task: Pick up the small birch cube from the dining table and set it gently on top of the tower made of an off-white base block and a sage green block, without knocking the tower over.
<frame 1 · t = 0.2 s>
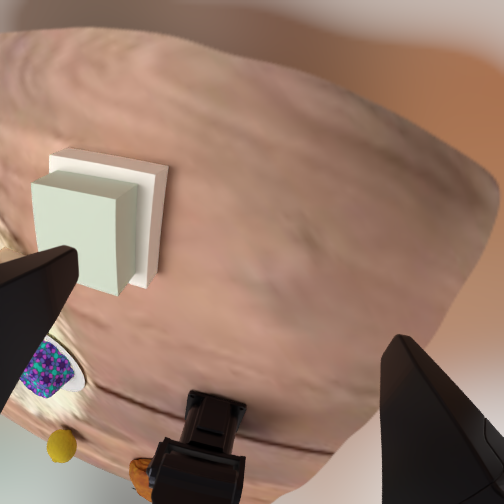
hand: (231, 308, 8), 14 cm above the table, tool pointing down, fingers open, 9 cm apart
base block: (114, 207, 24), on the table, touching sage green block
birch cube: (22, 271, 29), on the table
lemon: (70, 429, 46), on the table
croissant: (169, 471, 48), on the table
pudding: (51, 356, 36), on the table
sage green block: (94, 221, 22), point 2 cm above the table, touching base block
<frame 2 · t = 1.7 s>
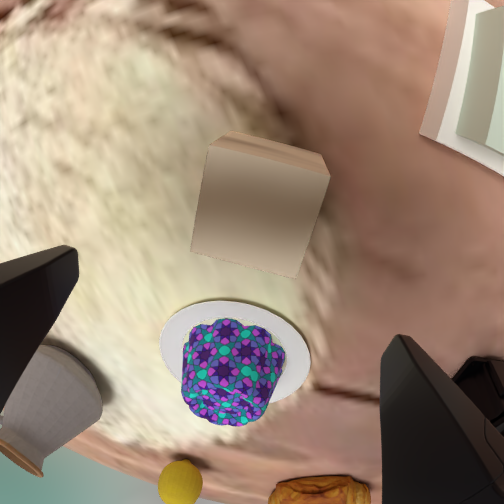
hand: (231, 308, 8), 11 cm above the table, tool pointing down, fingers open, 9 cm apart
base block: (492, 96, 14), on the table, touching sage green block
birch cube: (265, 183, 18), on the table
lemon: (187, 458, 36), on the table
croissant: (319, 487, 38), on the table
coffee pot: (34, 349, 30), on the table
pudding: (234, 353, 25), on the table
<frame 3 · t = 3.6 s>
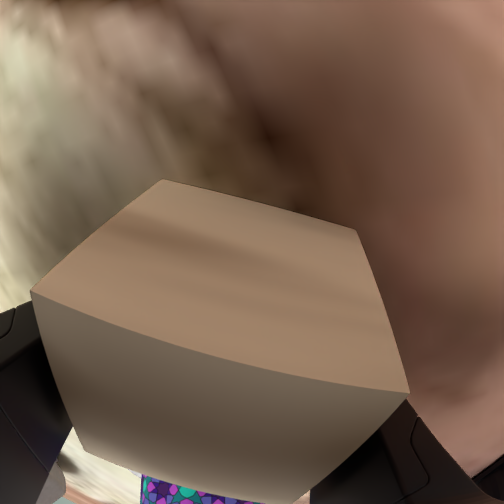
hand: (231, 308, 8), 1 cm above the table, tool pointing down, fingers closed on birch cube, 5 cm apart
birch cube: (237, 285, 9), on the table, touching gripper
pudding: (209, 466, 16), on the table
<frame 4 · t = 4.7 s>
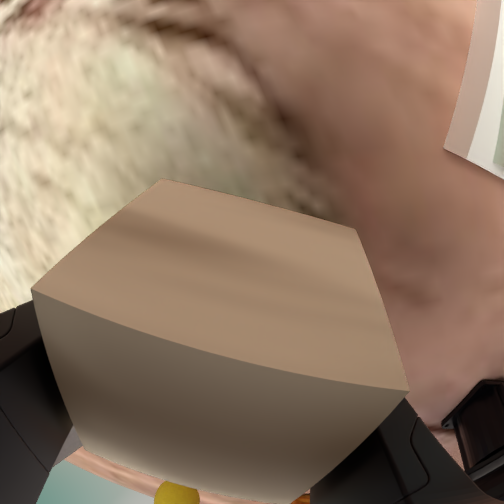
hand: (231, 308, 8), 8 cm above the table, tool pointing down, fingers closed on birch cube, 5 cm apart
birch cube: (237, 284, 9), point 7 cm above the table, touching gripper
lemon: (184, 475, 33), on the table
croissant: (318, 503, 35), on the table
coffee pot: (24, 365, 27), on the table
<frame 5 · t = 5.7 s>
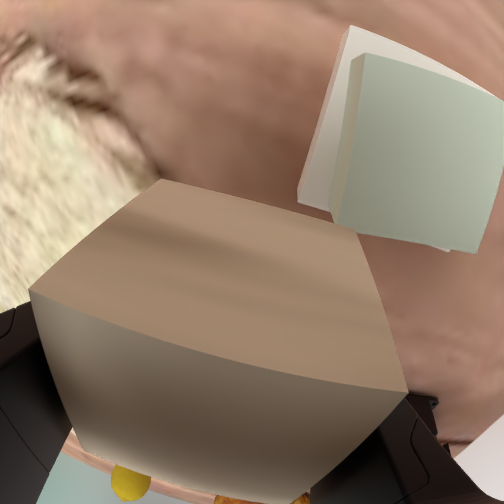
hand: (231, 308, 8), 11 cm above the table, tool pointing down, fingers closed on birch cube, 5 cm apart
base block: (395, 137, 16), on the table, touching sage green block
birch cube: (236, 285, 9), point 10 cm above the table, touching gripper
lemon: (139, 456, 38), on the table
croissant: (263, 493, 40), on the table
sage green block: (411, 148, 13), point 2 cm above the table, touching base block
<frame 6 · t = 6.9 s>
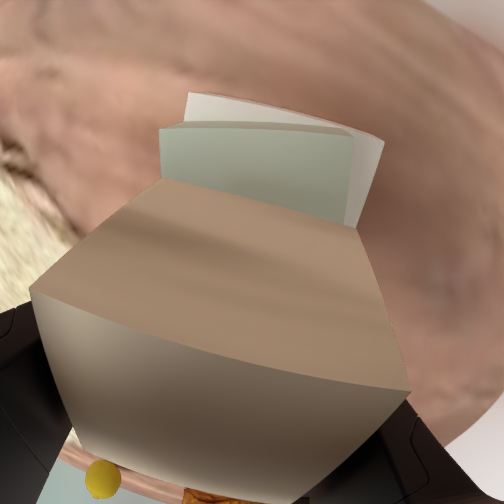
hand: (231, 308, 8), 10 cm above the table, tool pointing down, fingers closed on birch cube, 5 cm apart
base block: (269, 187, 18), on the table, touching sage green block
birch cube: (237, 284, 9), point 9 cm above the table, touching gripper
lemon: (111, 458, 40), on the table
croissant: (226, 497, 42), on the table
sage green block: (258, 196, 15), point 2 cm above the table, touching base block
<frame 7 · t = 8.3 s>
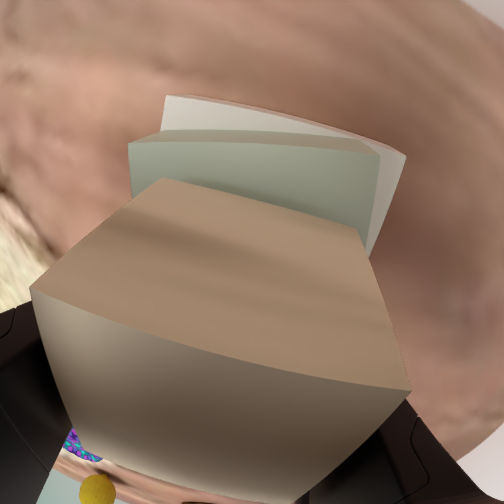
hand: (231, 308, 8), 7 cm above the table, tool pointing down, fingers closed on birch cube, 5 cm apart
base block: (265, 206, 15), on the table
birch cube: (237, 284, 9), point 6 cm above the table, touching gripper
lemon: (105, 473, 37), on the table
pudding: (94, 405, 27), on the table
sage green block: (256, 222, 12), point 2 cm above the table
when the fingers open (7 cm above the table, at t = 8.8 s): birch cube moves 1 cm, resting on sage green block.
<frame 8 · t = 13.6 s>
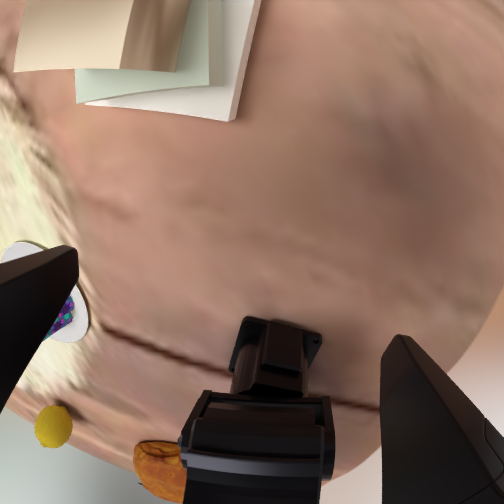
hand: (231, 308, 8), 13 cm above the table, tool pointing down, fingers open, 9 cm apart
base block: (180, 40, 16), on the table, touching sage green block
birch cube: (135, 19, 11), point 5 cm above the table, touching sage green block
lemon: (65, 406, 38), on the table
croissant: (183, 459, 40), on the table
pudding: (45, 291, 28), on the table
sage green block: (158, 32, 14), point 2 cm above the table, touching base block, birch cube
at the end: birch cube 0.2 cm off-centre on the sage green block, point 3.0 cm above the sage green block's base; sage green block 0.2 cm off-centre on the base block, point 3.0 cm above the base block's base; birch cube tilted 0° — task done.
